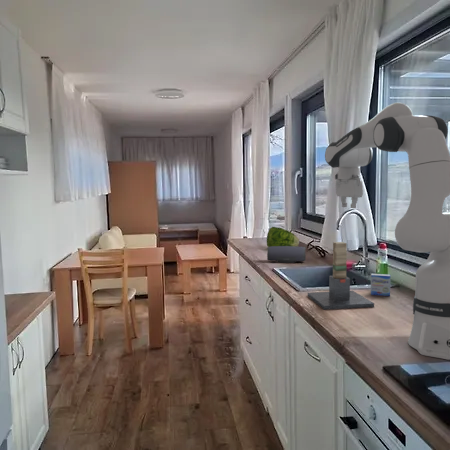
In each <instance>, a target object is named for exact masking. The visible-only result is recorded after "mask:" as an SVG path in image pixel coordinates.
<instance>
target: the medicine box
mask: <svg viewBox="0 0 450 450" xmlns="http://www.w3.org/2000/svg"><path fill="white" fill-rule="evenodd" d="M391 280H392V279H391V274H389V273H388V274H387V273H384V274H383V273H371V274H370V295H371V296H382V297H390V296H391Z"/></svg>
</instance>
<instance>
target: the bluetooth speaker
mask: <svg viewBox="0 0 450 450" xmlns="http://www.w3.org/2000/svg"><path fill="white" fill-rule="evenodd" d="M266 248H267V254H266V257H267V258H266V259H267V261H272V262H277V263H281V264H282V263H283V264H292V263H293V264H294V263H296V262H305V261H306V259H307V257H306V256H307V255H306V248H307V247H305V246H271V247H268V246H267V247H266Z"/></svg>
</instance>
